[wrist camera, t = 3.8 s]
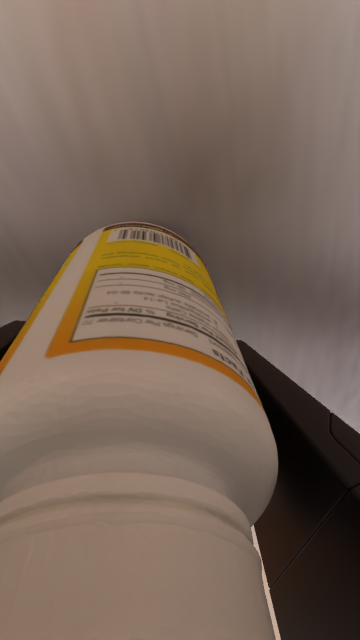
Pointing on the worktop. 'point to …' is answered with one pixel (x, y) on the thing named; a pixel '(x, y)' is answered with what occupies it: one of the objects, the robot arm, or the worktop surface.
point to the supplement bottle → (131, 454)
